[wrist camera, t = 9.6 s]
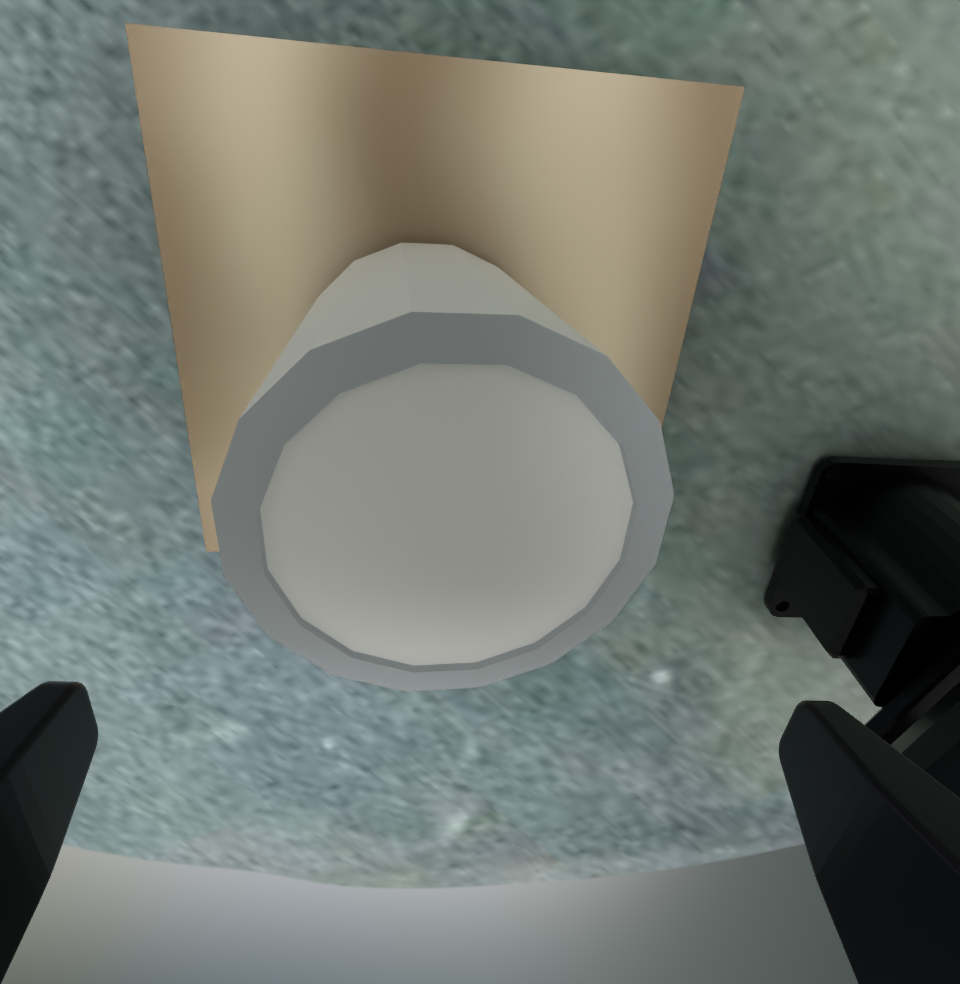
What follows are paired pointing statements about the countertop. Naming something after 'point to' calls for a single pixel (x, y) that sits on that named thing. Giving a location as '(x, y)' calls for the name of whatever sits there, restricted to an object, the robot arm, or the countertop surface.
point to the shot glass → (439, 480)
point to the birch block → (413, 197)
